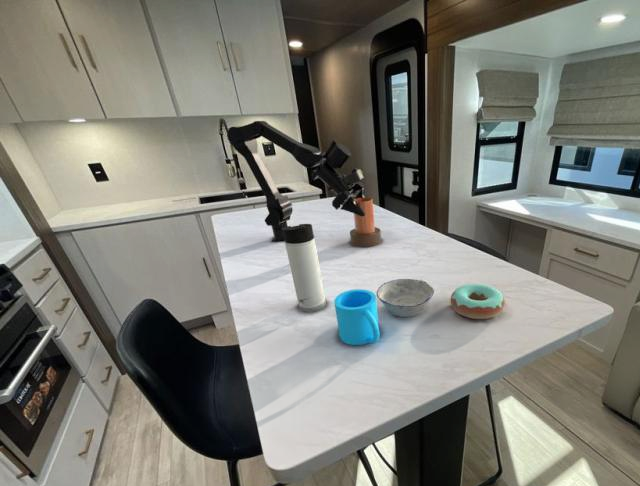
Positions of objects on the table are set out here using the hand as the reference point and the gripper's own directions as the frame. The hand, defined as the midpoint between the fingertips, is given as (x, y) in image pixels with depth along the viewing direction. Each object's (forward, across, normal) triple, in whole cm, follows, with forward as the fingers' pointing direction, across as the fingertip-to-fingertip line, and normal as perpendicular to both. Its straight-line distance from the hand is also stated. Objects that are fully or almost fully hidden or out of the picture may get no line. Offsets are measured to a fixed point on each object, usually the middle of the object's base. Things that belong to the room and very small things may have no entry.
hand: (367, 212), depth 111 cm
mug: (+19, -56, -4) cm, 60 cm away
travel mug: (+7, -46, +8) cm, 47 cm away
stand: (+6, 0, +8) cm, 11 cm away
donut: (+35, -41, -19) cm, 57 cm away
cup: (+4, 0, +6) cm, 7 cm away
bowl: (+23, -44, -8) cm, 50 cm away
